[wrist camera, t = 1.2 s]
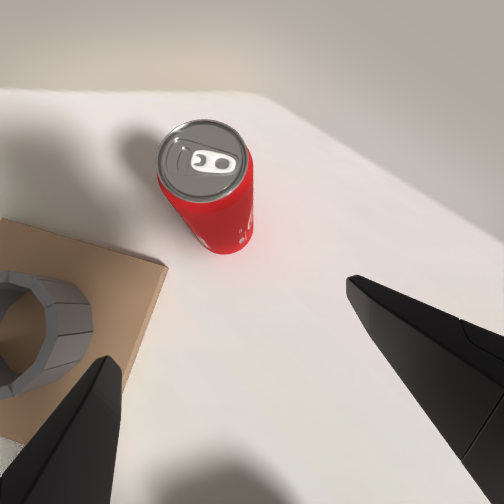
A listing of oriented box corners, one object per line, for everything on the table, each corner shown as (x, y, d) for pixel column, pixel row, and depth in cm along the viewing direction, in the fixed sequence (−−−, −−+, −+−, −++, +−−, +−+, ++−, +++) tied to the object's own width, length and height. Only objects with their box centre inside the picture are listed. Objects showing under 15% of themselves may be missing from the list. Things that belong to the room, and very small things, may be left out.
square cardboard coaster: (168, 268, 24) (145, 256, 19) (98, 458, 21) (47, 507, 16) (13, 222, 25) (-47, 199, 20) (-78, 396, 22) (-179, 422, 17)
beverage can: (205, 201, 25) (164, 108, 14) (257, 209, 25) (260, 122, 14) (193, 252, 24) (138, 197, 13) (248, 261, 24) (243, 214, 12)
